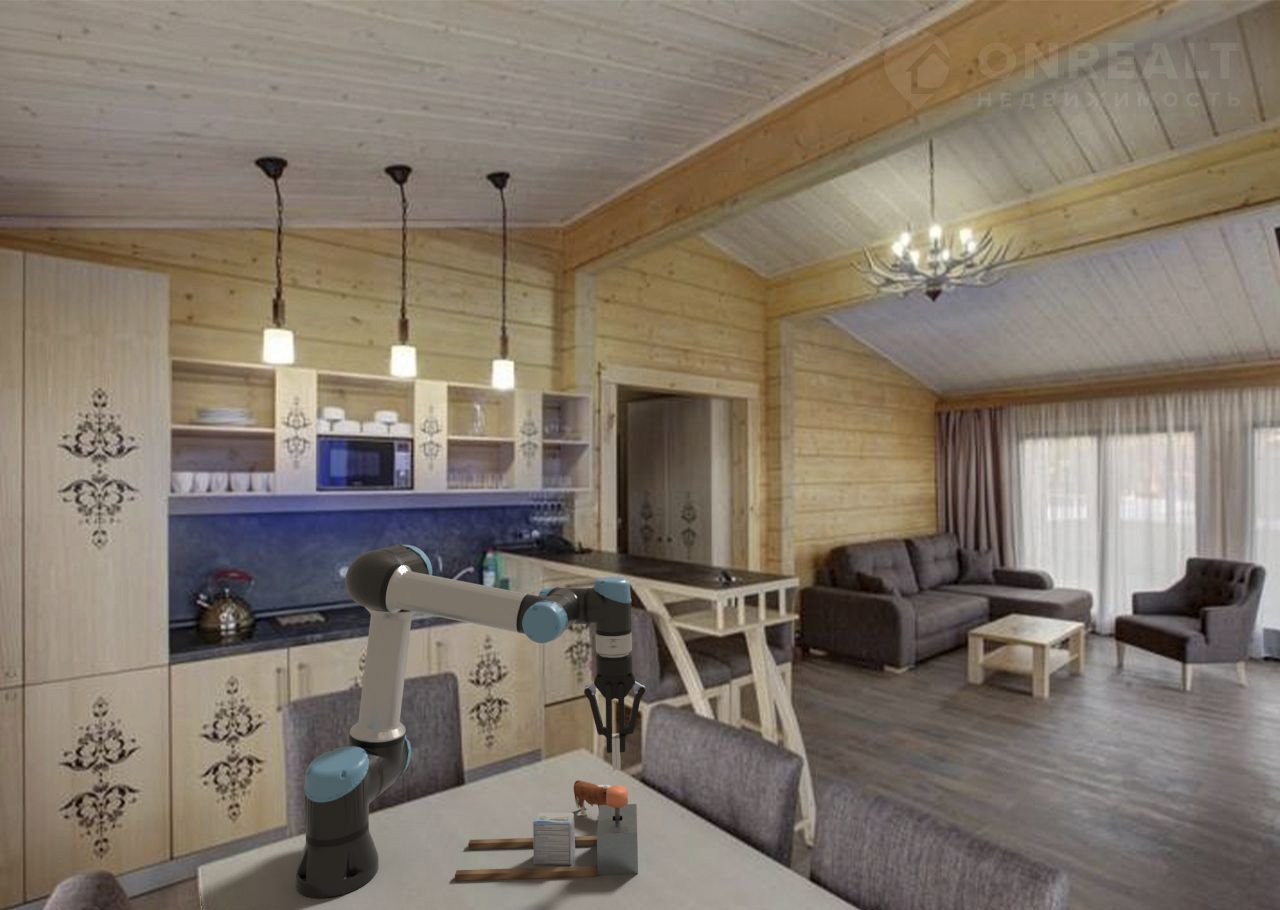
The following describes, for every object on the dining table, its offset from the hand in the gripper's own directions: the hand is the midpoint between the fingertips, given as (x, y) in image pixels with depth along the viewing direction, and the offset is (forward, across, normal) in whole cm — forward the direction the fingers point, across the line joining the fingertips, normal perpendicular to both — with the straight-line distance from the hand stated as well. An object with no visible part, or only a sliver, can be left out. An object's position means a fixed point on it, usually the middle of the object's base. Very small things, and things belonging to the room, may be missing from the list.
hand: (616, 767), depth 145 cm
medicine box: (+19, -13, 0) cm, 23 cm away
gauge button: (+11, 0, 0) cm, 11 cm away
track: (+18, -18, 0) cm, 26 cm away
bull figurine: (+19, -5, +18) cm, 26 cm away
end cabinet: (+18, 0, 0) cm, 18 cm away
